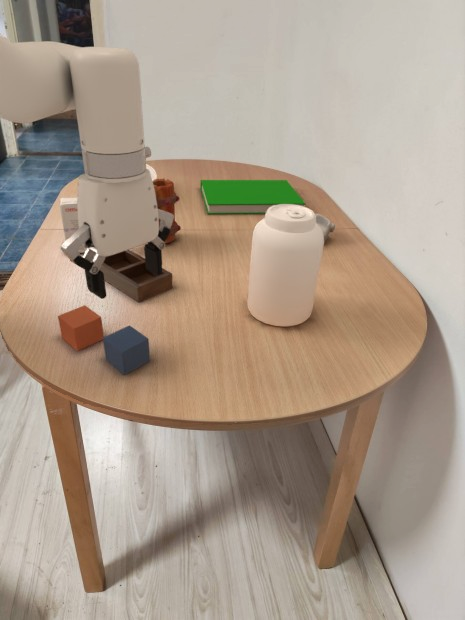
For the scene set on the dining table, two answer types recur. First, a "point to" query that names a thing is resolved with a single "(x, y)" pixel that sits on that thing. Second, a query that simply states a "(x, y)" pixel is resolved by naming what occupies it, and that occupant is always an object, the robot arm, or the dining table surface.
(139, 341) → the cube blue
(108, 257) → the dark wooden tray
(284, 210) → the can
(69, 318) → the orange block
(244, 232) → the dining table surface
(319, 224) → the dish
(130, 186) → the robot arm
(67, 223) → the ink box
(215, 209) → the book
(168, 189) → the mug
